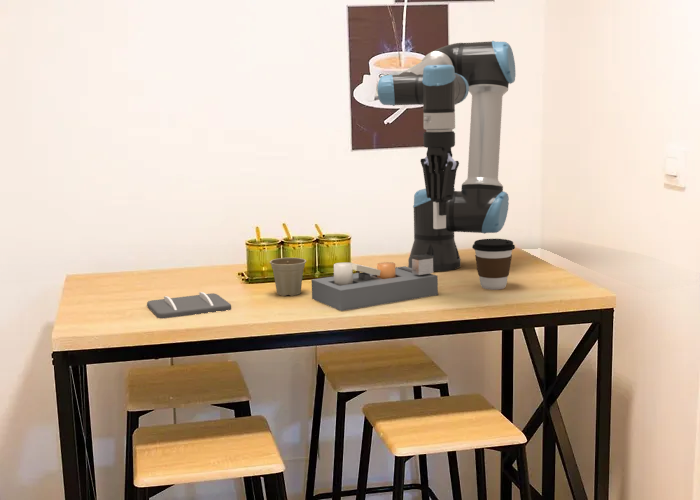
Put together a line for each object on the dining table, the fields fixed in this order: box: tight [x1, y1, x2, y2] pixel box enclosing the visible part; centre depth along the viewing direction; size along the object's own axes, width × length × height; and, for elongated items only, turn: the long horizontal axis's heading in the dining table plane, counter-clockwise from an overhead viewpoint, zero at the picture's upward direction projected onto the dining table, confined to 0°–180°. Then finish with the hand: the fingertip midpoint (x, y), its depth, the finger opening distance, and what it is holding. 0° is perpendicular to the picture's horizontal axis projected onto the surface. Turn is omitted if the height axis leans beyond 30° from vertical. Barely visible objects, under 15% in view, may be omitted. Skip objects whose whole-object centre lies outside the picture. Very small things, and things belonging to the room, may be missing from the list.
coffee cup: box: [472, 238, 516, 291], centre depth 239 cm, size 11×11×12 cm
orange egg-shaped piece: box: [376, 261, 396, 279], centre depth 233 cm, size 5×5×6 cm
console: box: [311, 266, 439, 312], centre depth 231 cm, size 15×28×6 cm, turn 120°
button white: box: [333, 262, 354, 286], centre depth 226 cm, size 5×5×6 cm
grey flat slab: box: [146, 291, 232, 319], centre depth 226 cm, size 18×3×15 cm
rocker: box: [348, 262, 381, 276], centre depth 229 cm, size 4×7×1 cm, turn 120°
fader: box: [411, 254, 434, 275], centre depth 232 cm, size 3×5×4 cm
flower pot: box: [269, 257, 307, 297], centre depth 237 cm, size 9×9×9 cm
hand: (439, 228), depth 223 cm, fingers closed
